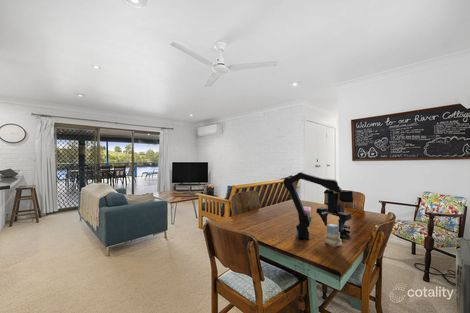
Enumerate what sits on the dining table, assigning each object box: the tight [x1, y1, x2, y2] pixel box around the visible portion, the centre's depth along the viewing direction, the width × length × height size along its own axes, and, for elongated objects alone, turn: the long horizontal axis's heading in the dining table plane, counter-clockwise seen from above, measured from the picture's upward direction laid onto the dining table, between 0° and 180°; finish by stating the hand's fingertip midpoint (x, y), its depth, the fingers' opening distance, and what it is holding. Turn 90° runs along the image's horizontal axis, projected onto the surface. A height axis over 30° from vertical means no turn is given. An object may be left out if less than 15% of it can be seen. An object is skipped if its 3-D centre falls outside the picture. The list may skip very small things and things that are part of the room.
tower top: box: [325, 231, 341, 241], centre depth 116 cm, size 6×6×4 cm
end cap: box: [336, 224, 351, 240], centre depth 128 cm, size 10×7×7 cm
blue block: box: [326, 223, 339, 234], centre depth 116 cm, size 4×4×4 cm
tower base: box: [324, 236, 343, 248], centre depth 116 cm, size 6×6×4 cm
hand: (333, 228), depth 116 cm, fingers open, 9 cm apart
